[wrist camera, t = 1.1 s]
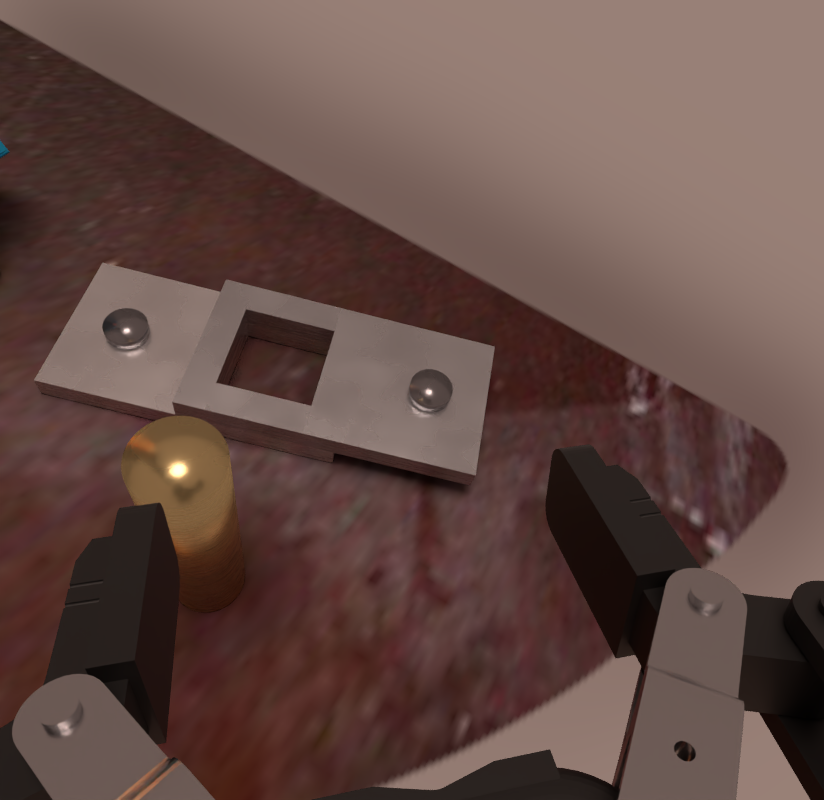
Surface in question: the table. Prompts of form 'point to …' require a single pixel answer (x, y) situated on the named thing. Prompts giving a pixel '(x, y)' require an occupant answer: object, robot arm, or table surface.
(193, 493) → the brass pin
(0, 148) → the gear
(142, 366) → the bolted metal plate
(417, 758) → the table surface
